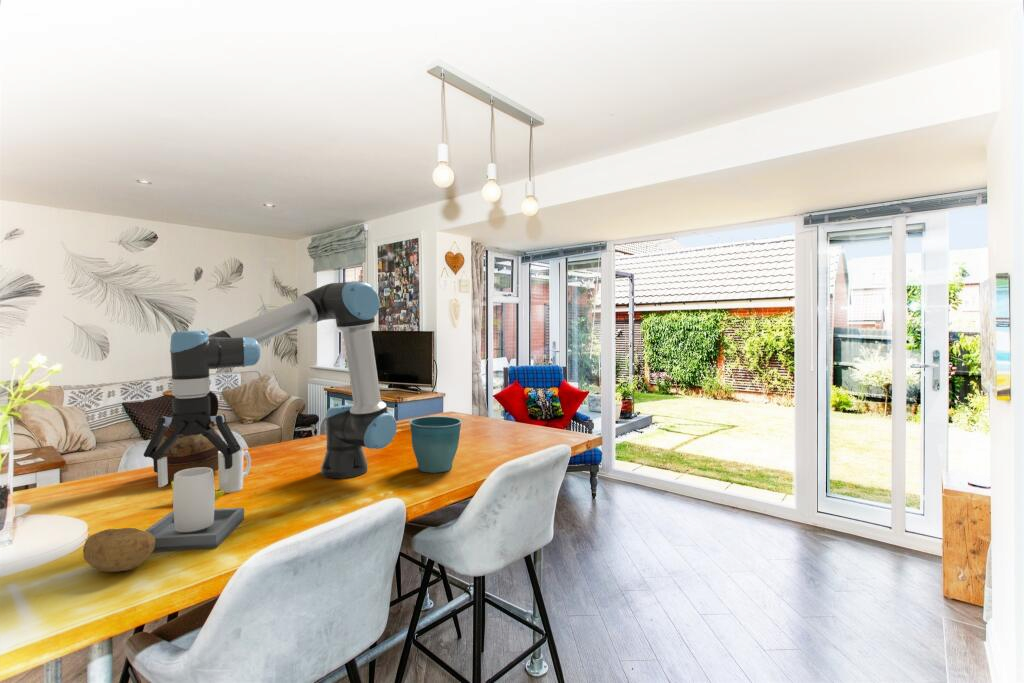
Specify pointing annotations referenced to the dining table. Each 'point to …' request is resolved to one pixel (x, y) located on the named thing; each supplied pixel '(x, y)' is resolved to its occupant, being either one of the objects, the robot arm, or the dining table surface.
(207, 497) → the cup
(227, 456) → the robot arm
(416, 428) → the flower pot
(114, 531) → the potato
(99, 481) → the dining table surface
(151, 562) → the dining table surface
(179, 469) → the ceramic pitcher
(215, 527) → the tray
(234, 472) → the mug
